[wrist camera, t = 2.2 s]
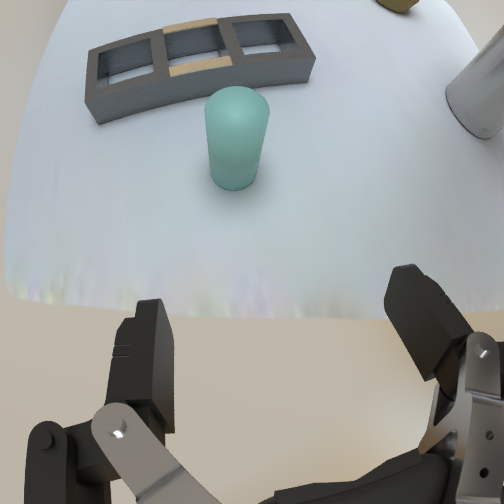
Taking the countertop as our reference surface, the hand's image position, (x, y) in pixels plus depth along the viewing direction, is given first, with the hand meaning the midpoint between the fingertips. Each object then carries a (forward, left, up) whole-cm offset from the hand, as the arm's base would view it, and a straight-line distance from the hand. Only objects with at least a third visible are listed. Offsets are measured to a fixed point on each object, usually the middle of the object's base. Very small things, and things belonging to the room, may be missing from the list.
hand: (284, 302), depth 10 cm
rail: (-17, -17, -15) cm, 28 cm away
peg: (-9, -7, -15) cm, 19 cm away
